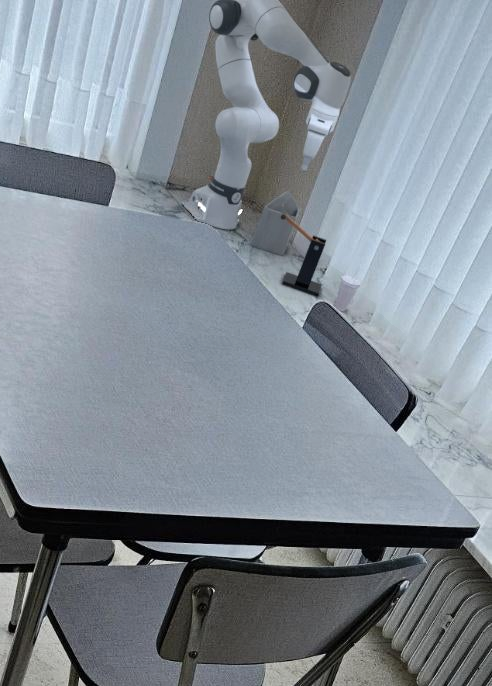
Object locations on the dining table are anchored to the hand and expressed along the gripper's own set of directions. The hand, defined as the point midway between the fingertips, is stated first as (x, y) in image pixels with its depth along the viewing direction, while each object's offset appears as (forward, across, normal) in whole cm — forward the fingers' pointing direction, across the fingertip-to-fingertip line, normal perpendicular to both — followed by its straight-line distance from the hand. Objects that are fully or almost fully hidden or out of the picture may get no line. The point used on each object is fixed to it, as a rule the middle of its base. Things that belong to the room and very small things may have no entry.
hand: (305, 165), depth 311 cm
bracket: (+33, +9, +12) cm, 36 cm away
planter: (+33, -16, 0) cm, 37 cm away
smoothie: (+33, +17, +25) cm, 45 cm away
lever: (+18, +9, +5) cm, 21 cm away
